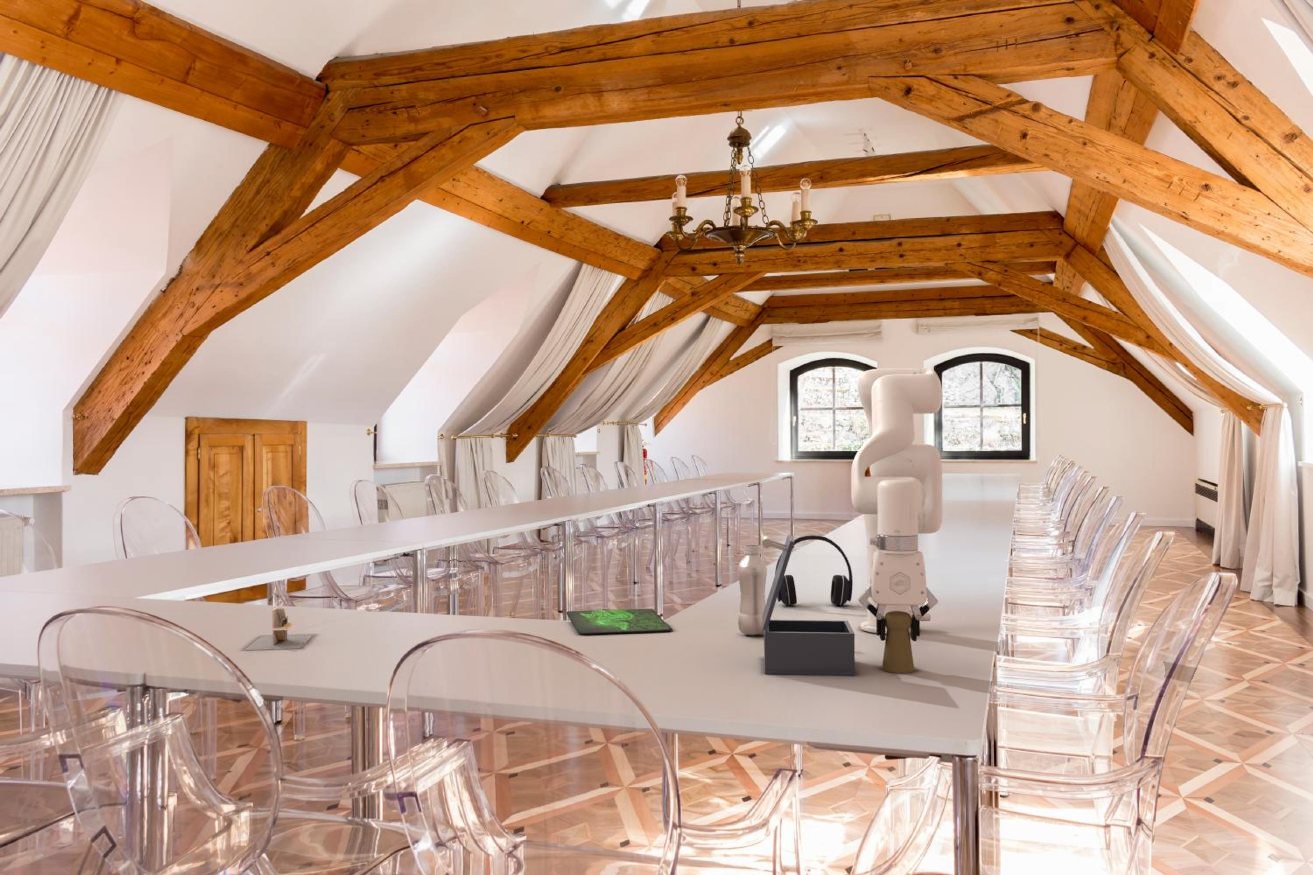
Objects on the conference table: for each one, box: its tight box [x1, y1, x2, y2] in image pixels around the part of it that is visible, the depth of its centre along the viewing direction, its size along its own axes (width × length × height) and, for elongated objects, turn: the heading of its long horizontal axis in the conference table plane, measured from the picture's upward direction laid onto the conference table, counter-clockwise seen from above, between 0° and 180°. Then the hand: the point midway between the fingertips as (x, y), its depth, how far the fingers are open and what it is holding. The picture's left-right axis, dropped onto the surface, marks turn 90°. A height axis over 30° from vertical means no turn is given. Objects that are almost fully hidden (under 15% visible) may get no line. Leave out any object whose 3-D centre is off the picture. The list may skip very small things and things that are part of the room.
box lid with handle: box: [761, 533, 795, 630], centre depth 202 cm, size 17×14×6 cm
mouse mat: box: [566, 608, 673, 635], centre depth 249 cm, size 27×22×1 cm
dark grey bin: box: [763, 619, 856, 676], centre depth 201 cm, size 17×14×8 cm
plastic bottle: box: [737, 544, 768, 636], centre depth 234 cm, size 6×7×20 cm
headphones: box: [774, 534, 854, 607], centre depth 273 cm, size 20×7×18 cm, turn 89°
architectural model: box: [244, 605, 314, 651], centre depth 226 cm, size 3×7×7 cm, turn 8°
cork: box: [881, 611, 915, 674], centre depth 199 cm, size 6×6×11 cm
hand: (898, 638), depth 199 cm, fingers closed on cork, 5 cm apart
